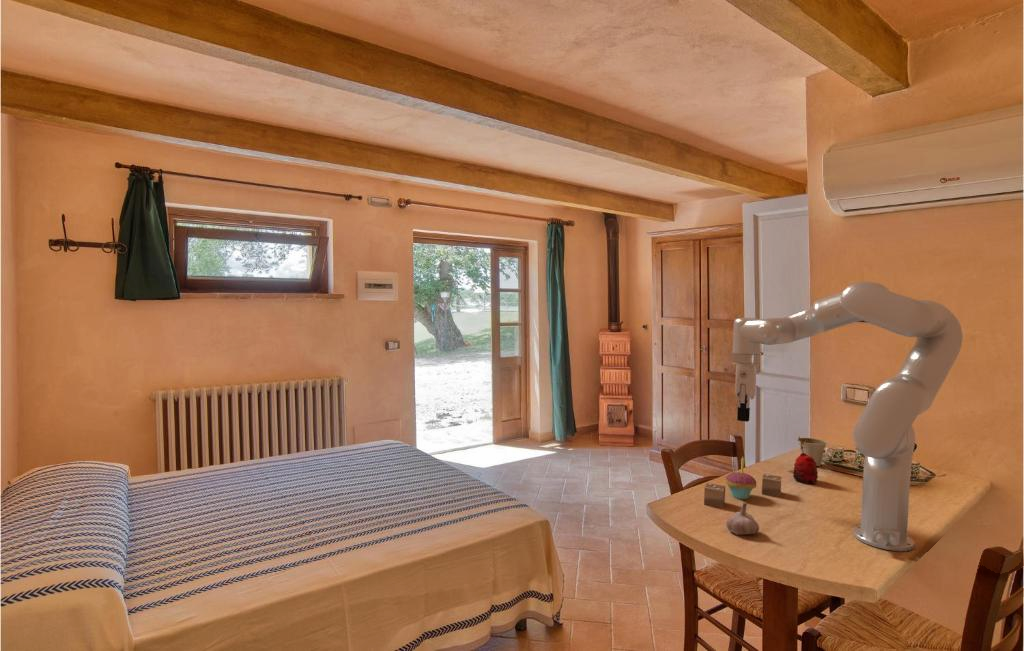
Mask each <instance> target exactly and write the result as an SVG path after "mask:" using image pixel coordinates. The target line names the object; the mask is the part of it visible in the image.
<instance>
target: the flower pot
mask: <svg viewBox="0 0 1024 651" xmlns="http://www.w3.org/2000/svg"><path fill="white" fill-rule="evenodd" d="M800 438H801V439H802V438H803V439H802V442H804V445H803V444H802V446H803V453H805V454H806V455H809V456H811V457H812V458H813V459H814V461H815V462H816V466H819V467H821V466H820V465H822V460H823V456H824V451H825V448H826V446H827V445H828V443H827V441H826V440H822V439H818V438H813V437H800ZM796 439H797V440H796V441H797V442H798V445H799V453H800V454H801V453H802V449H801V441H798V440H800V439H799V437H798V438H796Z"/></svg>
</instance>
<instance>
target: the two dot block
mask: <svg viewBox="0 0 1024 651" xmlns="http://www.w3.org/2000/svg"><path fill="white" fill-rule="evenodd" d="M781 494H782V476H780V475H773V474H768V473H763V474H762V482H761V495H764V496H768V497H769V496H770V497H777V498H781Z"/></svg>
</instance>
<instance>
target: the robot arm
mask: <svg viewBox="0 0 1024 651" xmlns="http://www.w3.org/2000/svg"><path fill="white" fill-rule="evenodd" d="M862 321H864V322H866V323H868V324H871V325H874V326H876V327H879V328H882V329H884V330H887V331H890V332H891V333H895V334H896V335H900V336H904V337H908V338H916V340H915V343H914V345H913V346H912V348H911V350H910V351H909V352H908V354H907V356H906V358H905V360H904V361H903V364H902V365H901V367H900V369H899V371H898V372H897V373H896V375H895V376H894V377H892V378H891V377H890V378H888V379H886V380H884V381H883V382H881V383H880V384H879V385H877V387H876V388H875V390H874V391H873V393H872V395H871V396H870V398H869V400H868V401H867V403H866V405H865V407H864V408H863V411H862V412H861V414H860V416H859V418H858V420H857V422H856V424H855V425H854V429H853V432H852V439H853V443H854V446H855V447H856V449H857V451H858V452H860V453H861V454H862V455H864V461H863V473H862V490H861V491H862V492H861V507H860V508H861V510H860V511H861V513H860V524H859V525H856V526H854V527H853V528H852V534H853V536H854V537H855V538H856V539H857V540H859V541H860V542H862V543H863V544H867V545H869V546H872V547H875V548H879V549H882V550H886V551H887V550H888V551H891V552H908V551H907V550H909V551H911V549H912V550H914V548H915V540H913V538H912V537H911V536H909V535H908V523H909V507H910V506H909V505H910V489H911V477H912V476H911V475H912V474H911V473H912V472H911V471H912V463H913V455H914V451H915V445H916V433H915V430H914V427H913V424H914V422H915V421H916V420H917V418H918V416H919V415H921V414H924V413H925V412H927V411H928V410H929V409H930V408H931V406H932V404H933V403H934V400H935V399H936V396H937V395H938V393H939V391H940V390H941V387H942V386H943V384H944V382H945V381H946V379H947V377H948V376H949V375H948V374H949V373H950V371H951V370H952V367H953V365H954V364H955V363H956V360H957V358H958V357H959V354H960V352H961V349H962V345H963V340H964V339H963V329H962V326H961V323H960V321H959V320H958V318H957V317H956V315H955V314H954V313H953V311H951V310H950V309H948V308H947V307H946V306H945V305H943V304H942V303H940V302H938V301H934V300H928V299H927V300H926V299H914V298H911V297H909V296H905V295H902V294H900V293H896V292H893V291H890V290H889V288H888V287H887V286H885V285H883V284H881V283H880V282H879V283H878V282H875V281H874V282H873V281H872V282H871V281H858V282H854V283H852V284H849V285H848V286H847V287H845V289H844V290H843V291H841V292H838V293H835V294H832V295H829V296H826V297H822V298H820V299H817V300H816V301H814V302H813V304H812V305H811V307H809V308H807V309H805V310H802V311H800V312H796V313H793V314H790V315H787V316H784V317H771V318H759V319H758V318H755V317H738V318H735V319H734V321H733V331H732V333H733V334H732V355H731V356H732V357H731V365H735V385H734V388H735V389H734V390H735V395H734V396H735V398H736V399H738V400H737V401H738V402H737V403H738V404H737V414H736V415H737V416H736V417H737V418H736V419H737V421H739V422H748V423H749V421H750V412H751V411H750V410H751V408H750V400H754V399H755V397H756V393H757V392H756V389H757V387H756V385H757V384H756V382H757V380H756V379H757V367H756V366H758V367H759V366H760V362H761V345H763V346H764V345H765V346H772V345H773V346H775V345H783V344H785V345H786V344H789V343H793V342H797V341H800V340H803V339H806V338H807V339H808V338H810V337H813V336H816V335H819V334H822V333H827V332H829V331H831V330H835V329H838V328H841V327H845V326H847V325H851V324H855V323H857V322H862Z"/></svg>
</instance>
